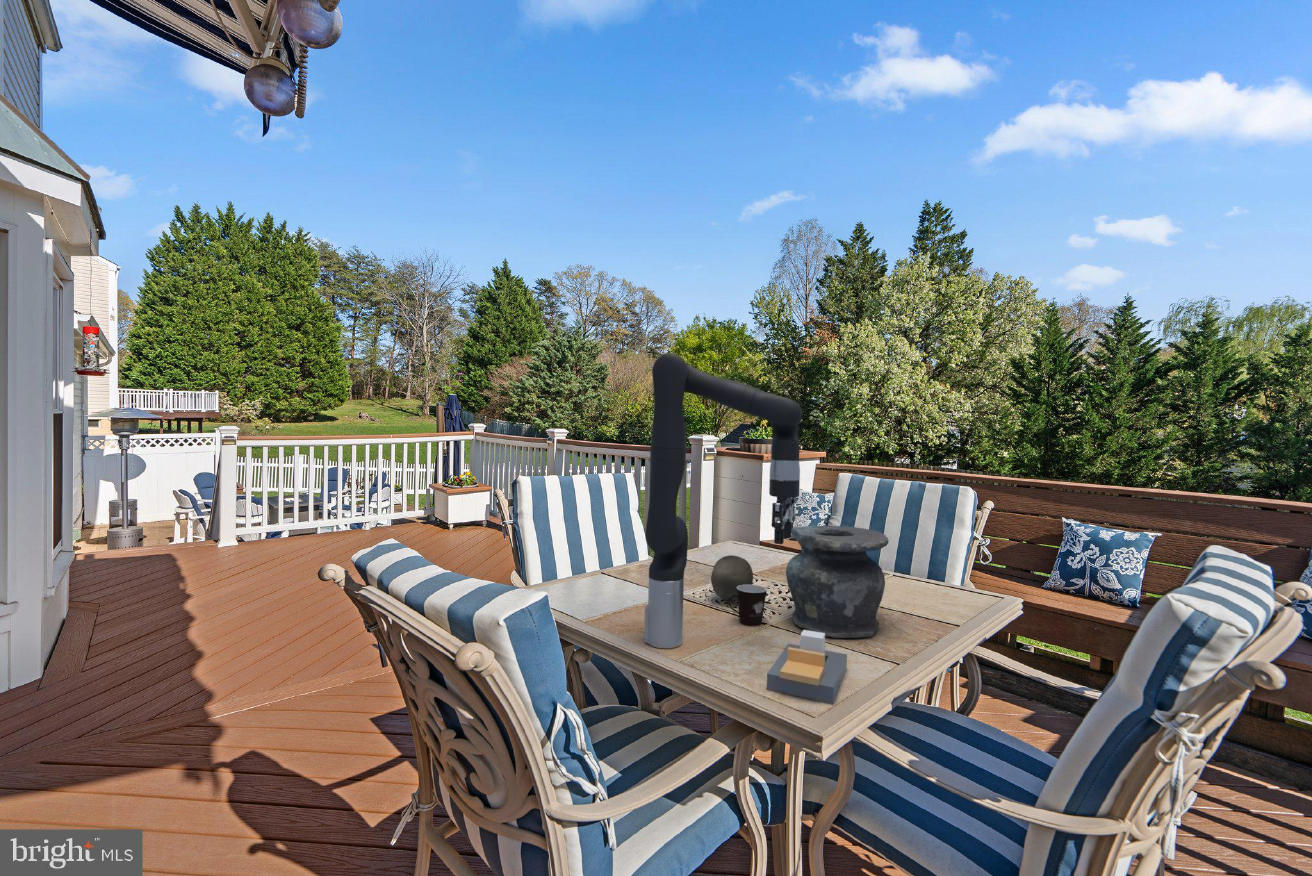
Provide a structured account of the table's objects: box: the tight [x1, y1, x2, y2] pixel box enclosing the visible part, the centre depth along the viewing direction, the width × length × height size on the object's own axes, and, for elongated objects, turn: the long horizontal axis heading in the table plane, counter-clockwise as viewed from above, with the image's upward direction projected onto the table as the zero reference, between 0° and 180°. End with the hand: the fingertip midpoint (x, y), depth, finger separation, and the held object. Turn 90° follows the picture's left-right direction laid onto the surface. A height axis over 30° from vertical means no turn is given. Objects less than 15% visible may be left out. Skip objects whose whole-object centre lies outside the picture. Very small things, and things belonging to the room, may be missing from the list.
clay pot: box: [785, 525, 890, 639], centre depth 170 cm, size 29×30×30 cm
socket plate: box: [766, 643, 848, 705], centre depth 132 cm, size 14×20×4 cm
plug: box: [799, 629, 826, 654], centre depth 136 cm, size 5×4×9 cm
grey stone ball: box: [710, 554, 754, 603], centre depth 189 cm, size 14×14×15 cm
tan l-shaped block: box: [780, 647, 825, 686], centre depth 126 cm, size 8×8×4 cm
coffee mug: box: [727, 584, 767, 627], centre depth 169 cm, size 12×9×10 cm
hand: (782, 540), depth 148 cm, fingers open, 8 cm apart
